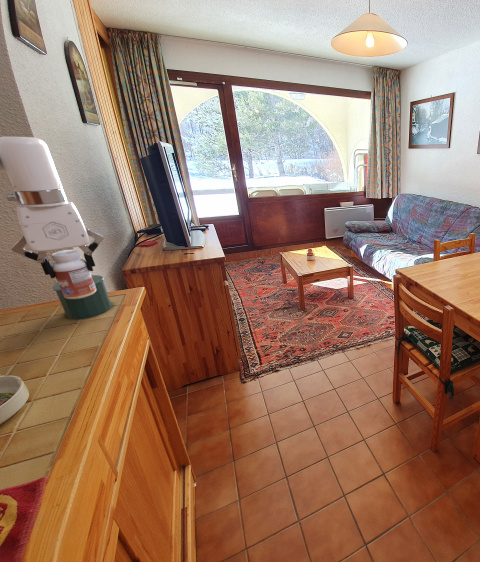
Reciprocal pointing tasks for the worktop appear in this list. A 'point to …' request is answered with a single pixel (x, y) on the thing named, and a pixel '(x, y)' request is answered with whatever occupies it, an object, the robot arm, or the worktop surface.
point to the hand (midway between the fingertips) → (72, 272)
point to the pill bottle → (72, 274)
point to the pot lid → (96, 278)
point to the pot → (86, 304)
